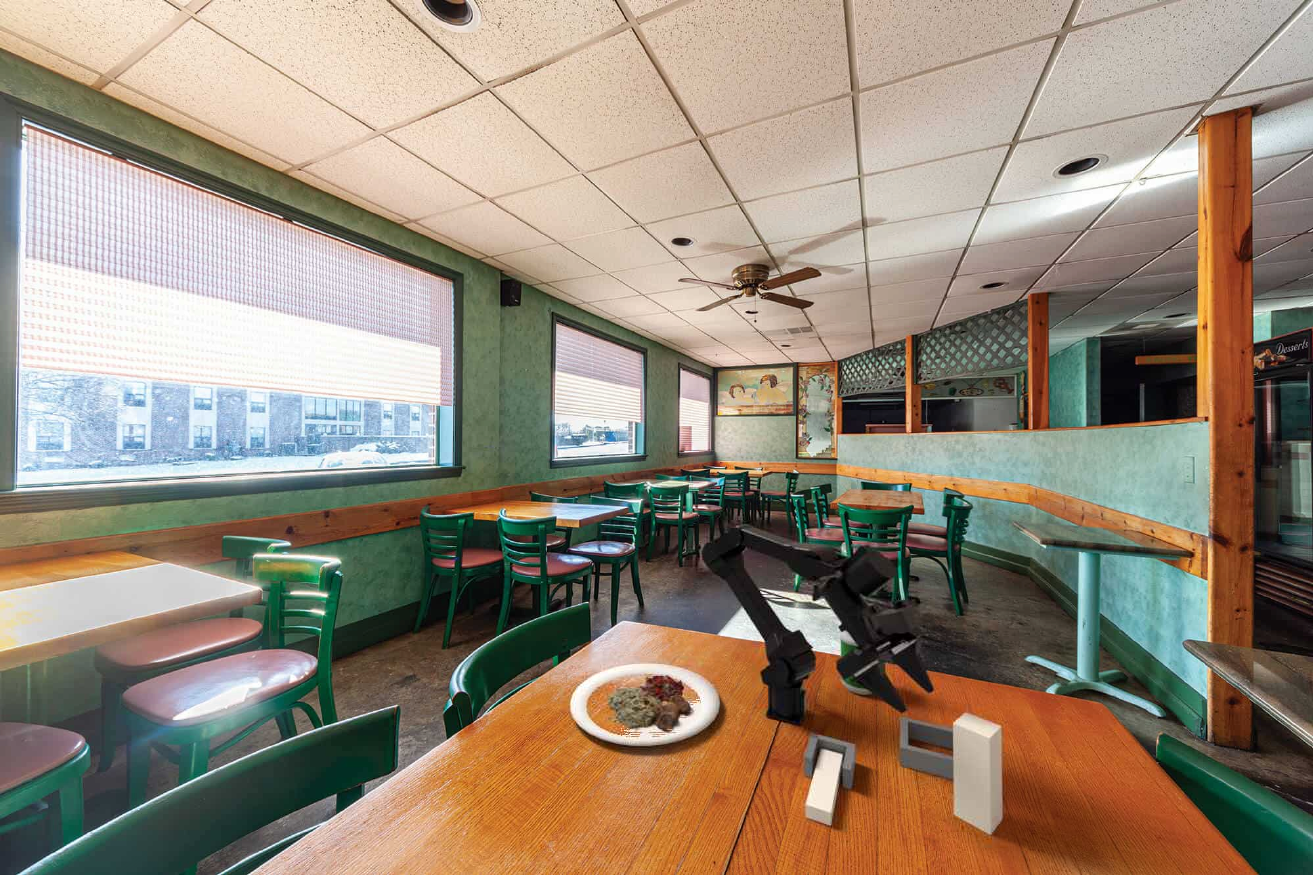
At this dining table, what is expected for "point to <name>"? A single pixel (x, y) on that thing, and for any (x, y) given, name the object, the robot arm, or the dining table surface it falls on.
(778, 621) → the robot arm
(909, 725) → the grey square frame
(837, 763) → the cap with slat
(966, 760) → the white rectangular block
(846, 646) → the soda can
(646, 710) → the plated food
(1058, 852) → the dining table surface
